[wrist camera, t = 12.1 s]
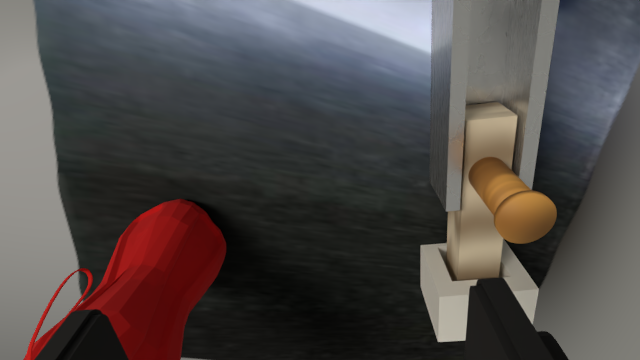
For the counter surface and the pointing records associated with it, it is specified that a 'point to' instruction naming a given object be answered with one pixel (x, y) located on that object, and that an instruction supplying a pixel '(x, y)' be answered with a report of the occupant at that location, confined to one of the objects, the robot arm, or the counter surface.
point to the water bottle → (153, 280)
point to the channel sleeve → (487, 79)
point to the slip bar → (491, 197)
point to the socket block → (466, 290)
